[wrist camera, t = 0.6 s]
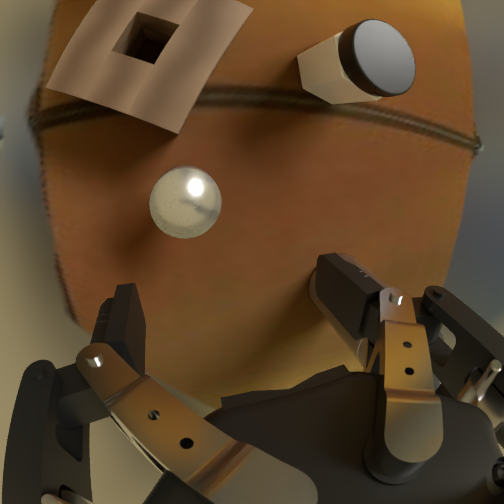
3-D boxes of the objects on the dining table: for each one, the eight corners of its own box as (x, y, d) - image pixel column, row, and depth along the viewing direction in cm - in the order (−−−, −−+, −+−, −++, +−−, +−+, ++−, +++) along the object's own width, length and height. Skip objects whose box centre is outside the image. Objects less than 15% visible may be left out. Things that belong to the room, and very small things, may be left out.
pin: (218, 171, 31) (233, 185, 23) (196, 217, 33) (203, 248, 24) (171, 150, 29) (166, 156, 20) (150, 198, 30) (139, 223, 22)
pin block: (236, 35, 24) (253, 8, 17) (178, 134, 28) (177, 134, 21) (133, -2, 19) (124, -33, 12) (74, 96, 23) (45, 87, 16)
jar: (320, 115, 31) (381, 112, 20) (282, 63, 27) (332, 35, 17) (364, 83, 30) (428, 76, 20) (331, 35, 26) (389, 9, 16)
